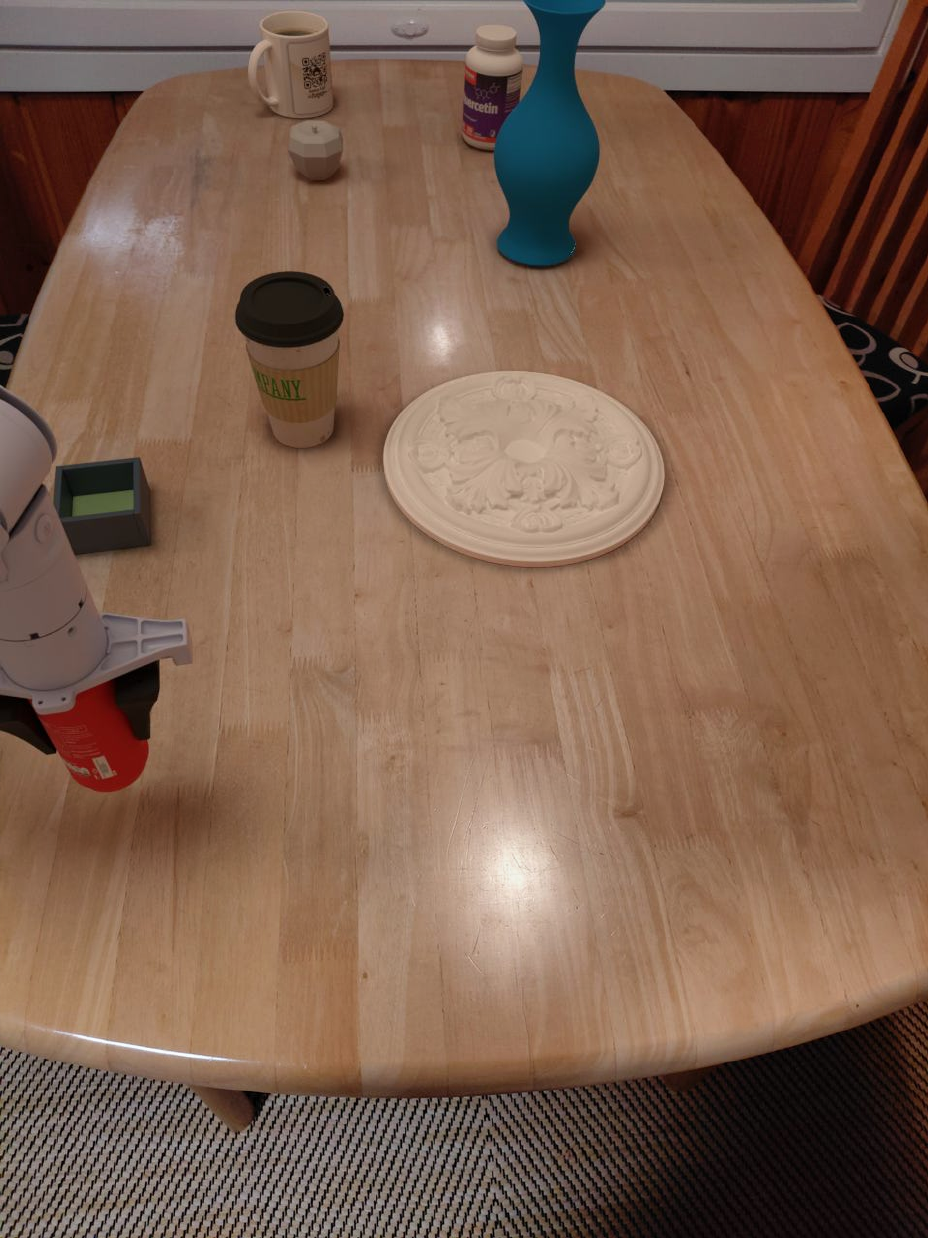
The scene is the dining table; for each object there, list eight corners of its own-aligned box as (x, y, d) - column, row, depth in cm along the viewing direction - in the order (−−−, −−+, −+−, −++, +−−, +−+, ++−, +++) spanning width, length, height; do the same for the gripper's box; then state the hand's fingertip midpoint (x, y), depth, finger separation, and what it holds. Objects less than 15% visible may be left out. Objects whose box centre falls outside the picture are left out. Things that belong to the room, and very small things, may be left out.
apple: (333, 193, 126) (330, 143, 120) (279, 182, 127) (274, 132, 122) (355, 167, 130) (353, 118, 125) (303, 156, 132) (299, 107, 126)
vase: (602, 262, 117) (645, 11, 96) (514, 283, 114) (538, 25, 92) (556, 217, 124) (586, -28, 102) (471, 234, 120) (484, -16, 99)
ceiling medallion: (549, 616, 81) (553, 593, 79) (324, 466, 92) (322, 441, 89) (715, 459, 95) (723, 435, 92) (503, 344, 106) (505, 320, 103)
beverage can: (58, 762, 63) (-3, 656, 54) (126, 718, 65) (78, 609, 56) (98, 813, 61) (42, 712, 51) (167, 765, 63) (125, 661, 54)
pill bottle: (450, 141, 137) (454, 31, 125) (483, 123, 141) (489, 15, 129) (495, 159, 134) (502, 48, 122) (527, 140, 138) (537, 31, 127)
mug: (335, 120, 139) (330, 38, 131) (253, 121, 138) (243, 38, 129) (331, 90, 146) (326, 10, 137) (254, 91, 144) (243, 10, 136)
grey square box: (65, 555, 83) (51, 523, 80) (68, 498, 88) (55, 465, 84) (150, 545, 84) (140, 512, 81) (149, 489, 89) (139, 456, 86)
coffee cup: (247, 405, 97) (224, 274, 85) (339, 391, 99) (329, 260, 88) (263, 467, 91) (241, 335, 80) (361, 450, 93) (353, 320, 82)
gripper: (-131, 680, 46) (-29, 808, 56) (173, 638, 48) (215, 769, 59) (-108, 574, 50) (-17, 712, 61) (170, 540, 52) (210, 679, 63)
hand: (97, 734), depth 60 cm, fingers closed on beverage can, 5 cm apart
